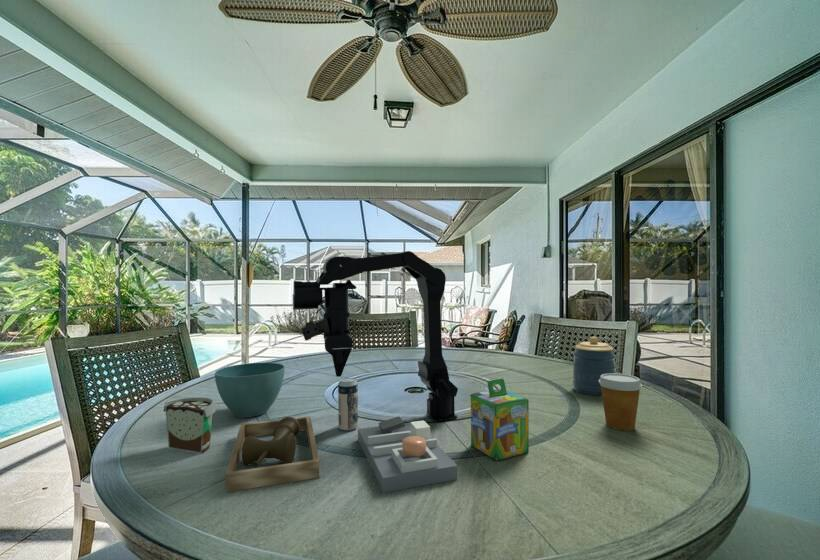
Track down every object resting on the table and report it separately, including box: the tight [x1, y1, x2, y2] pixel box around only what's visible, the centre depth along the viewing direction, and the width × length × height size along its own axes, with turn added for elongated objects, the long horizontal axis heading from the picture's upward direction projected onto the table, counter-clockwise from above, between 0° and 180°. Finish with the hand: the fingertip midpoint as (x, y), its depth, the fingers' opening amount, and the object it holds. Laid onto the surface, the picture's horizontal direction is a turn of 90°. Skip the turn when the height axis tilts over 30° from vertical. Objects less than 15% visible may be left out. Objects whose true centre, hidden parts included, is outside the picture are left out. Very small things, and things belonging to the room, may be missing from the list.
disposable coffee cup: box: [599, 373, 643, 431], centre depth 98 cm, size 10×10×12 cm
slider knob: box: [410, 420, 431, 440], centre depth 83 cm, size 3×4×4 cm
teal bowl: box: [214, 362, 286, 418], centre depth 111 cm, size 18×18×12 cm
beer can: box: [337, 377, 359, 432], centre depth 99 cm, size 5×5×12 cm
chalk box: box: [469, 378, 530, 462], centre depth 85 cm, size 9×9×15 cm
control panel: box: [357, 422, 458, 494], centre depth 82 cm, size 14×24×4 cm, turn 18°
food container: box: [162, 396, 216, 455], centre depth 89 cm, size 12×6×10 cm, turn 71°
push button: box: [402, 436, 426, 456], centre depth 74 cm, size 4×4×2 cm
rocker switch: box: [378, 415, 405, 434], centre depth 90 cm, size 5×4×1 cm
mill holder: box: [225, 415, 320, 493], centre depth 84 cm, size 16×26×3 cm, turn 18°
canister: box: [572, 336, 617, 397], centre depth 129 cm, size 13×13×18 cm
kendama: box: [241, 416, 300, 467], centre depth 84 cm, size 6×10×20 cm
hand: (337, 371), depth 97 cm, fingers open, 9 cm apart
